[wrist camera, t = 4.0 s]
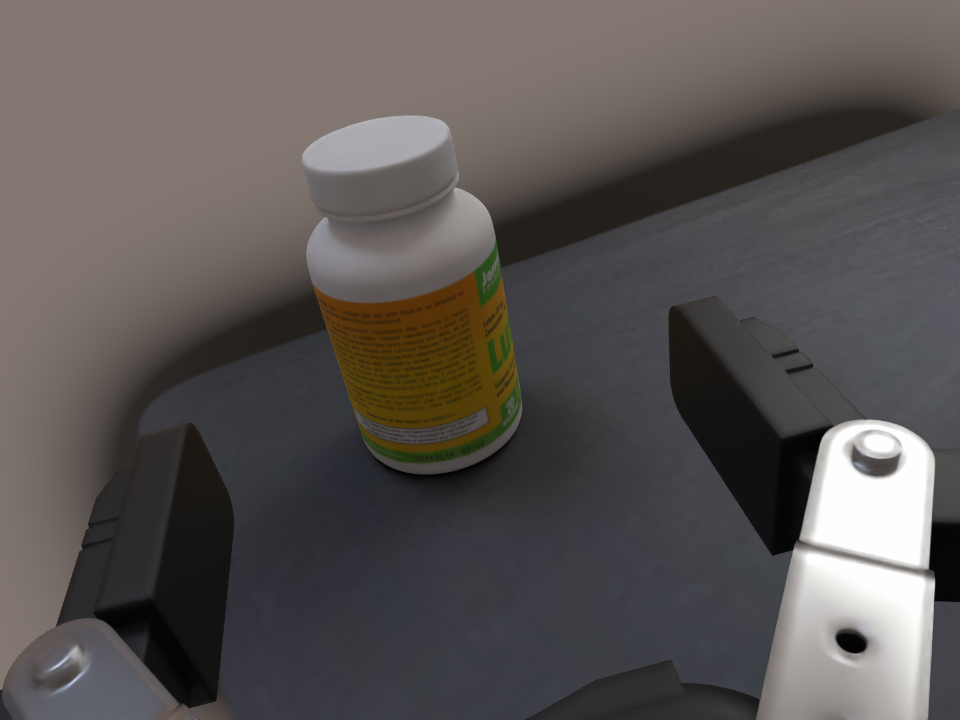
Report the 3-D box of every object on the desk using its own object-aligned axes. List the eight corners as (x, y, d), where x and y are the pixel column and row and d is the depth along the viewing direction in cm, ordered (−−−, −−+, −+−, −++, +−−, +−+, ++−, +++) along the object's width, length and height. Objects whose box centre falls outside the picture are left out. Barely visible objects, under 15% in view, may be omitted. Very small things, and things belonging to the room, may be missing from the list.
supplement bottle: (539, 458, 24) (492, 155, 18) (366, 496, 24) (265, 202, 18) (509, 360, 28) (463, 91, 23) (362, 392, 28) (280, 128, 23)
